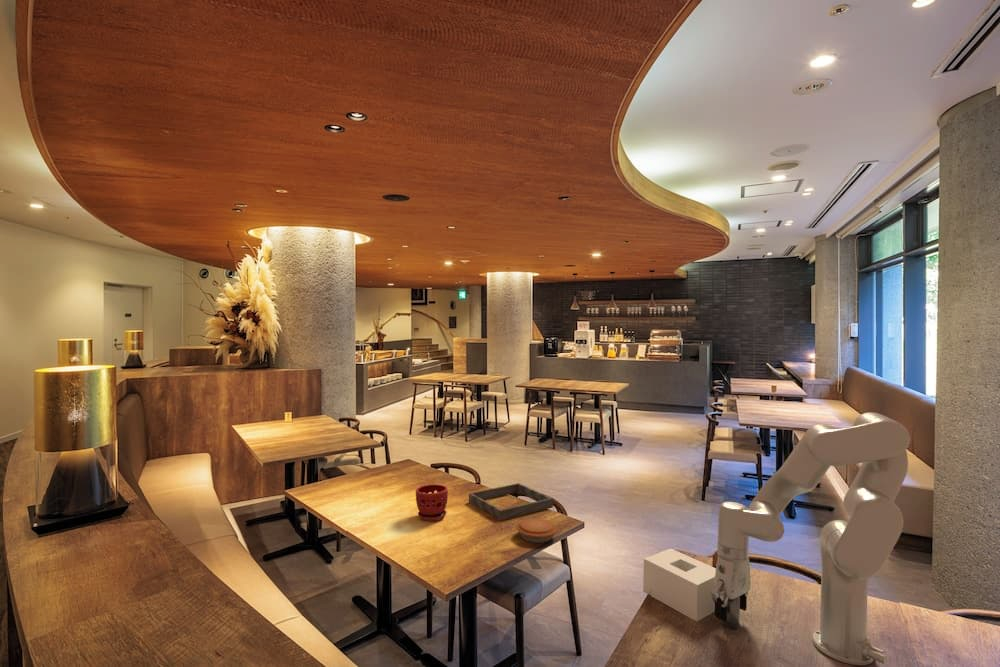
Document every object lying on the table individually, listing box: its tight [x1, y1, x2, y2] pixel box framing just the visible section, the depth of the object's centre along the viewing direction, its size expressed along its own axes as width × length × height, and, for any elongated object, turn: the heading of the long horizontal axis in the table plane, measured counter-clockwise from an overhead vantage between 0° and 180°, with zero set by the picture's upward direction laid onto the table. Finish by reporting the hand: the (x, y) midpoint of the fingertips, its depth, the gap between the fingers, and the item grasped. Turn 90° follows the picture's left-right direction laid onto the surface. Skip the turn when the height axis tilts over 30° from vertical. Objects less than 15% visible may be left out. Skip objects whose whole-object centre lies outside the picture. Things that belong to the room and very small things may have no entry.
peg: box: [722, 591, 741, 631], centre depth 132 cm, size 4×4×8 cm
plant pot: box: [415, 483, 449, 522], centre depth 203 cm, size 13×13×12 cm
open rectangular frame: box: [468, 482, 554, 522], centre depth 219 cm, size 25×28×4 cm
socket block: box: [642, 548, 725, 622], centre depth 145 cm, size 18×13×10 cm
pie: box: [515, 518, 558, 544], centre depth 187 cm, size 15×16×5 cm
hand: (730, 613), depth 133 cm, fingers open, 9 cm apart
